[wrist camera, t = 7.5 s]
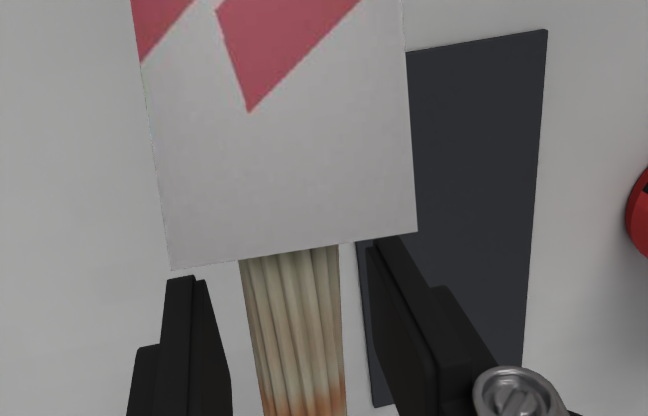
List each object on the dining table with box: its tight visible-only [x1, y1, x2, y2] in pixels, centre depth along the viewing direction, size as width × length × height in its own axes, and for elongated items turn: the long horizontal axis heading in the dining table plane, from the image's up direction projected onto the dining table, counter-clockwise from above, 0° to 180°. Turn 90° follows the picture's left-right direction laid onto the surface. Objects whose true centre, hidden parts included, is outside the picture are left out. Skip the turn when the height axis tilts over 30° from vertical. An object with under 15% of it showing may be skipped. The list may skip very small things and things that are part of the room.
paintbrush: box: [130, 0, 418, 416], centre depth 10 cm, size 4×3×20 cm
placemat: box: [356, 29, 548, 408], centre depth 30 cm, size 22×10×1 cm, turn 7°
